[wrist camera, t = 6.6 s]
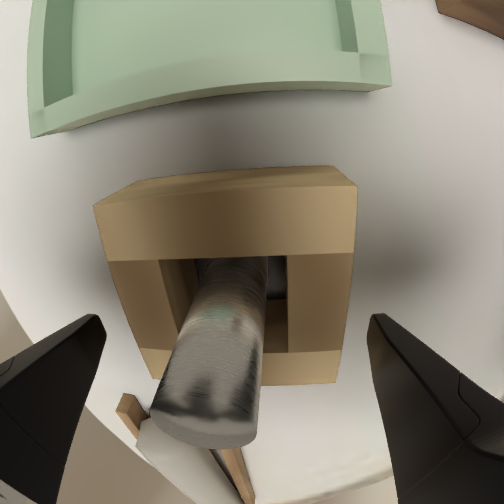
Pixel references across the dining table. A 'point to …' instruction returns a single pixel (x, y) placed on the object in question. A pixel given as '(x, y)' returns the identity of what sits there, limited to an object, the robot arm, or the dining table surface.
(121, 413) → the tube rest
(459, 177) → the dining table surface
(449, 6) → the walnut block
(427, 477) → the robot arm
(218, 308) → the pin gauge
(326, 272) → the oak block
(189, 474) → the tube
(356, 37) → the tray
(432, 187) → the dining table surface
